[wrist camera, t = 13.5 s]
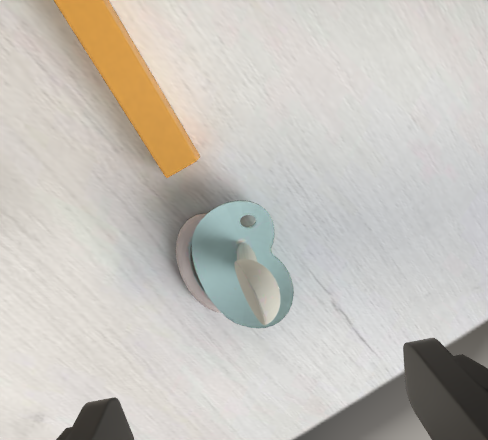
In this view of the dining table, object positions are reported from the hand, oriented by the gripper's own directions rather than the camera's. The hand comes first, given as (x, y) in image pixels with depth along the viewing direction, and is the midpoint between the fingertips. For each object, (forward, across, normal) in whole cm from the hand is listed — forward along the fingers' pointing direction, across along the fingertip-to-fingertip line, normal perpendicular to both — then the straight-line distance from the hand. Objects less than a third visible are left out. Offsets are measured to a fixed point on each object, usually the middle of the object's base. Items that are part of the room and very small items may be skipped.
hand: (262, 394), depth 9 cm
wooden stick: (+10, +4, -11) cm, 16 cm away
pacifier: (+10, +1, 0) cm, 11 cm away
